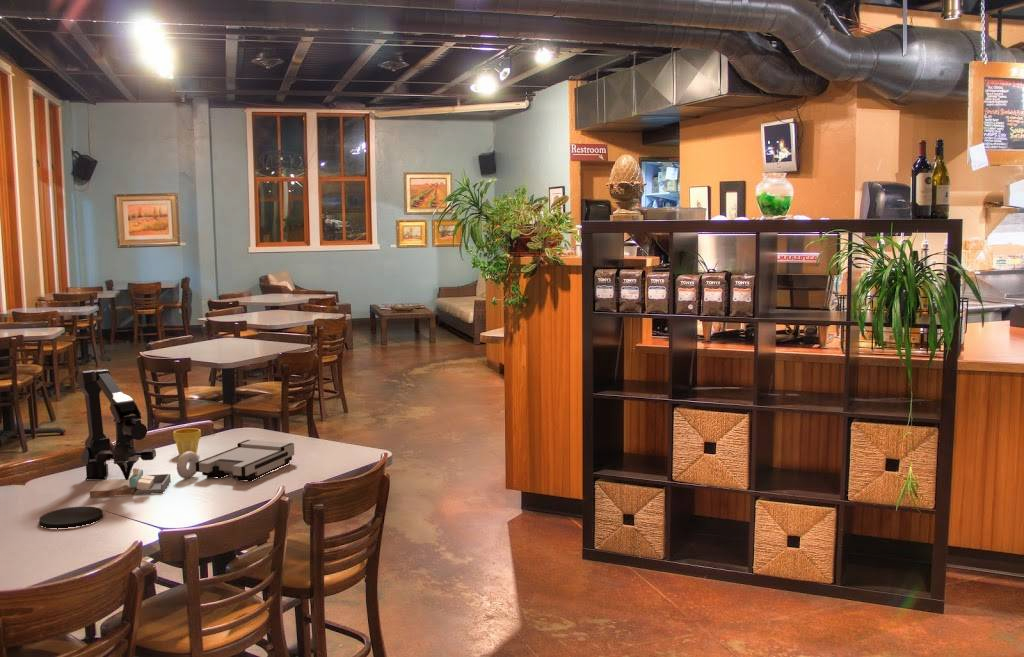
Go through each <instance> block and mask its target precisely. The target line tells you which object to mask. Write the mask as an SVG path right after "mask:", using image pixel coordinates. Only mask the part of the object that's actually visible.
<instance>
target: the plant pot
mask: <svg viewBox="0 0 1024 657" xmlns="http://www.w3.org/2000/svg"><path fill="white" fill-rule="evenodd" d="M172 435H173V436H172V437H173V440H174V441H175V446H176V448H177V452H178V455H179V457H180V456H181V455H182V454H183V453H185V452H187V451H192V452H194V453H195V454H196V453H197V454H198V448H199V442H200V439H201V437H202V431H201V429H199V428H195V427H193V428H189V427H188V428H179V429H176V430H174V431H173V434H172ZM197 454H196V455H197Z"/></svg>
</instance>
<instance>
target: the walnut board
mask: <svg viewBox="0 0 1024 657" xmlns="http://www.w3.org/2000/svg"><path fill="white" fill-rule="evenodd" d="M129 479H130V478H129ZM129 479H128V480H126V479H125V478H121V479H119V478H118V479H102V480H99V481H98V482H97V483H96V484H95V485H94V486H93V488H91V490H89V498H94V497H93V496H103V497H117V496H118V495H121V496H134V495H135V492H136V490H137V489H136V488H137V486H136V487H133V488H130V485H129ZM115 495H117V496H115Z"/></svg>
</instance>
